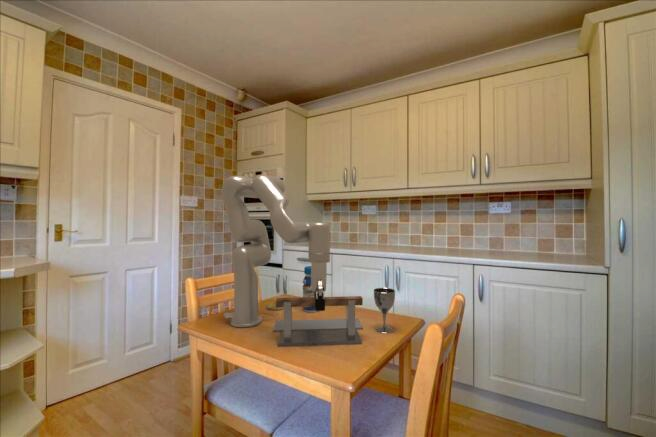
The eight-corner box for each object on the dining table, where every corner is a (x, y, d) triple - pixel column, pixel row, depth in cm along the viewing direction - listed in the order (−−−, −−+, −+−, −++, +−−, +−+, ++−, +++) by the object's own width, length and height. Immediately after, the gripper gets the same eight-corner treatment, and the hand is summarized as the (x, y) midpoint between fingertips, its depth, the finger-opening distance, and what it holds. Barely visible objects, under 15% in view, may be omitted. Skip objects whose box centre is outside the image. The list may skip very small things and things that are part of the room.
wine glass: (389, 335, 109) (389, 293, 109) (370, 330, 114) (369, 290, 114) (398, 328, 116) (398, 289, 116) (379, 324, 120) (379, 286, 121)
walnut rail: (275, 307, 103) (275, 300, 103) (276, 304, 106) (276, 298, 106) (362, 305, 105) (362, 298, 105) (361, 302, 108) (360, 296, 108)
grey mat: (273, 331, 113) (273, 330, 113) (275, 322, 124) (276, 320, 124) (362, 329, 116) (362, 327, 116) (358, 319, 126) (358, 318, 126)
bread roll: (274, 304, 150) (274, 296, 150) (288, 307, 145) (288, 299, 145) (262, 308, 143) (262, 300, 143) (276, 312, 138) (276, 303, 138)
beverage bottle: (320, 307, 145) (320, 265, 145) (321, 312, 137) (321, 268, 137) (302, 307, 144) (302, 265, 145) (302, 312, 136) (302, 268, 136)
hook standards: (277, 346, 100) (277, 304, 100) (280, 335, 110) (280, 296, 110) (361, 343, 102) (361, 302, 102) (356, 332, 112) (356, 294, 112)
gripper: (308, 254, 114) (308, 300, 114) (308, 261, 97) (308, 314, 97) (328, 254, 115) (328, 299, 115) (332, 260, 98) (332, 313, 98)
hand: (319, 306), depth 106 cm, fingers open, 9 cm apart
